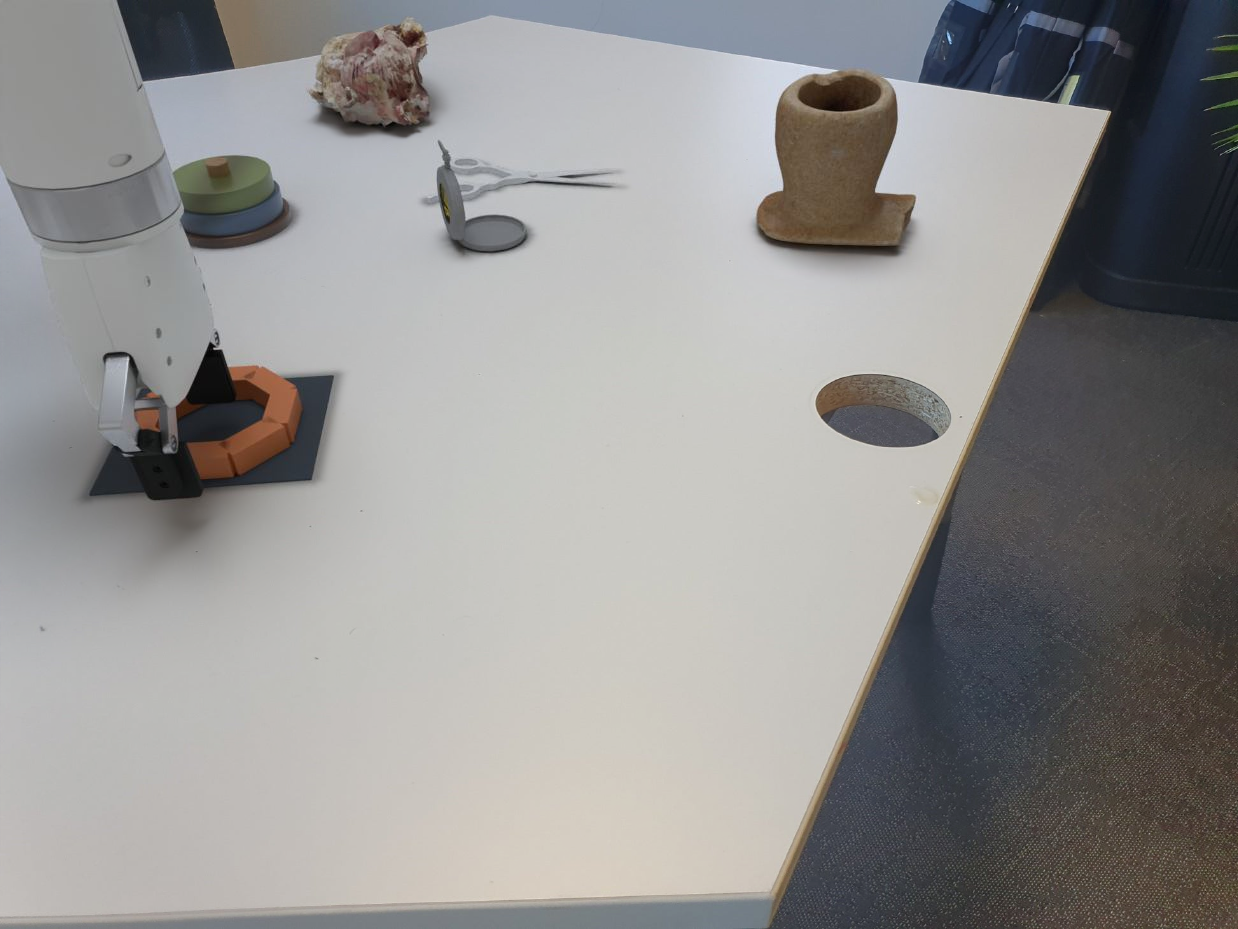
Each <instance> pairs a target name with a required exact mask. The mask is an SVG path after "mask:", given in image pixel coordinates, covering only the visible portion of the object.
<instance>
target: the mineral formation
mask: <svg viewBox="0 0 1238 929" xmlns="http://www.w3.org/2000/svg"><path fill="white" fill-rule="evenodd" d="M427 41H428V38H427V36H426V34H425V32H424V30H423V26H422V25H421V23H419V22H415V21H414V17H405V19H404V20H403V21H402V22H401V23H399V24H397V25H396V26H395V25H393V24H390V23H389V24H386V25H384V26H382V27H379V28H377V29H375V30H372V29H371V30H366V31H357V32H352V33H345V34H339V35H335V36H333V37H330V39H328V42H325V45H324V46H323V48H322V50H321V53H320V58H319V59H318V61H317V62H316V64H315V67H316V68H315V69H316V71H315V80H316V82H315V84H314V89H315V90H316V91H315V90H314V89H313V88H311V87H305V92H306V93H308V94H309V95H310V96H311V98H312V99H313V100H314V101H316V102H317V104H321V105H322V106H323V107H325V108H328V109H332V110H333V111H334V112H338V113H340V115H341V117H342V119H343V121H344V122H345V123H352V122H353V123H354V122H356V121H357V122H359V123H362V124H366V125H368V126H371V125H379V124H381V125H382V126H383V127H384V128H386V126H388V125H389V124H392V123H396V124H399V125H403V126H407V125H409V126H411V125H412V124H414V125H418V124H419V123H420V118H421V117H422V118H428V117H429V116H430V114H431V113H430V111H429V110H428V107H429V106H431V105H430V96H429V94H428V91H427V90H426V89H425V87H424V86H423V85H422V84H423V75H422V73H421V70H420V66H419V63H421V61H422V60H423V59H424V57H425V56H426V55H428V48H427V47H428V46H429V44H428V43H427Z"/></svg>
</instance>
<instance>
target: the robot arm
mask: <svg viewBox="0 0 1238 929" xmlns="http://www.w3.org/2000/svg"><path fill="white" fill-rule="evenodd" d="M155 118H156V117H155V115H154V112H153V109H152V106H151V103H150V99H149V96H148V94H147V91H146V87H145V85H144V81H143V78H142V75H141V72H140V68H139V65H138V63H137V59H136V57H135V53H134V50H133V48H132V44H131V40H130V38H129V35H128V32H127V29H126V26H125V23H124V18H123V16H122V14H121V10H120V7H119V4H118V0H0V169H1V170H2V173H3V175H4V178H5V179H6V182H7V184H8V187H9V189H10V191H11V193H12V195H13V197H14V199H15V201H16V204H17V206H18V208H19V211H20V212H21V215H22V217H23V220H24V222H25V224H26V226H27V228H28V230H29V233H30V236H31V237H32V239H33V240H34V242H35V243H36V244H38V245H39V246H41V248H40V252H39V258H40V261H41V262H40V263H41V265H42V271H43V275H44V280H45V284H46V287H47V290H48V294H49V298H50V301H51V304H52V307H53V311H54V314H55V316H56V319H57V322H58V325H59V328H60V330H61V333H62V336H63V340H64V342H65V344H66V347H67V349H68V352H69V355H70V357H71V360H72V363H73V365H74V368H75V370H76V372H77V375H78V378H79V380H80V382H81V384H82V385H81V386H82V387H83V390H84V392H85V394H86V396H87V398H88V401H89V403H90V404H91V405H92V407H93V409H94V410H96V411H97V412H98V420H97V429H98V431H99V433H100V435H101V436H102V438H103V437H104V438H105V439H106V440H107V441H108V442H109V443H110V444H111V446H112V447H114V449H115V450H116V452H118V453H122V454H123V455H124V456H125V457H130V460H131V462H132V464H133V466H134V469H135V471H136V473H137V475H138V477H139V480H140V482H141V484H142V486H143V488H144V491H145V492H144V493H145V495H146V497H147V498H148V499H149V500H151V501H154V502H155V501H157V502H158V501H169V500H183V499H197V498H201V497H202V496H203V493H204V490H205V488H204V486H203V483H202V481H201V478H200V476H199V473H198V471H197V468H196V466H195V463H194V460H193V458H192V455H191V453H190V450H189V448H188V445H187V443H186V441H178V432H177V418H176V406H177V405H178V404H179V403H180V402H181V401H182V400H183V399H184V398H185V397H186V399H187V401H188V402H189V404H191V405H201V404H217V403H230V402H234V401H235V399H236V396H237V393H236V390H235V387H234V384H233V381H232V378H231V375H230V372H229V369H228V367H229V366H228V362H227V359H226V357H225V354H224V351H223V349H221V348H220V346H221V336H220V332H219V331H218V330H217V329H216V328H215V319H214V313H213V308H212V303H211V302H210V298H209V293H208V291H207V288H206V285H205V282H204V278H203V273H202V270H201V267H199V265H198V262H197V260H196V257H195V254H194V252H193V249H192V246H190V244H189V241H188V239H187V236H186V234H185V232H184V229H183V227H182V224H181V222H180V219H181V217H182V215H183V213H184V206H183V203H182V201H181V198H180V194H179V191H178V188H177V185H176V182H175V179H174V176H173V169H172V167H171V164H170V161H169V160H170V159H169V158H168V155H167V152H166V148H165V147H164V146H165V145H164V143H163V140H162V137H161V133H160V130H159V128H158V124H157V121H156V119H155ZM217 348H220V349H217ZM142 388H149V389H150V390H151V391H152V392H153V393H154V394H155V395H160V398H144V399H136V398H137V390H141V389H142ZM146 410H158V413H159V426H160V432H158V431H154V430H150V429H141V428H140V427H139V423H138V422H137V416H136V411H146Z"/></svg>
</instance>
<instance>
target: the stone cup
mask: <svg viewBox="0 0 1238 929" xmlns="http://www.w3.org/2000/svg"><path fill="white" fill-rule="evenodd" d="M897 100H898V99H897V94H896V91H895V89H894V87H893V85H892V84H891V82H889V81H888V79H886V78H884V77H883V76H881V75H879V74H877V73H874V72H872V71H868V70H862V69H857V68H847V69H846V68H845V69H838V70H836V71H832V72H830V73H811V74H806V75H804V76H802V77H800V78H798V79H796V80H795V81H794V82H792V83H790V84H789V85H788V86H787V87H786V88H785V89H784V91H782V93H781V95H780V97H779V98H778V102H777V105H776V111H775V123H774V124H775V125H774V126H775V127H774V145H775V146H774V147H775V153H776V157H777V161H778V166H779V170H780V174H781V180H782V190H778V191H777V190H776V191H774V192H772V193H769V194H768V195H766V196H765V197H764V198H763V199H762V201H761V202H760V204H759V205H758V207H757V210H756V217H755V219H756V224H757V226H758V227H759V229H761V230H762V231H763V232H764V235H765V236H766V237H769V238H771V239H774V240H777V241H781V242H788V243H789V242H790V243H799V244H809V245H834V246H875V247H876V246H878V247H891V246H892V247H893V246H898V245H899V246H900V244H901V242H902V238H903V235H904V232H905V231H906V229H907V228H908V226H909V224H910V221H911V218H912V214H913V211H914V209H915V204H916V201H917V196H916V195H915V194H908V193H907V194H906V193H905V194H904V193H903V194H902V193H901V194H899V193H889V192H887V193H886V192H876V189H877V185H878V182H879V179H880V176H881V175H882V174H881V173H882V172H883V168H884V166H885V163H886V161H887V158H888V156H889V153H890V151H891V148H892V146H893V142H894V140H895V137H896V134H897V129H898V122H899V115H898V114H899V112H898V111H899V110H898V109H899V108H898V101H897Z"/></svg>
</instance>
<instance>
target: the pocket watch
mask: <svg viewBox="0 0 1238 929" xmlns="http://www.w3.org/2000/svg"><path fill="white" fill-rule="evenodd" d="M437 145H438V146H439V149H440V151H441V153H442V155H441V158H442V161H443V163H444V164H443V165H441V166H438V167H437V169H436V191H437V194H438V197H439V201H438V202H439V208H440V211H441V215H442V219H443V223H444V225H445V228H446V231H447V233H448V235H449V237H450V238H451V239H452V240H456V241H458V242H459V244H461V245H462V246H463V247H465V248H468V249H470V250H474V251H479V252H496V251H497V252H498V251H502V250H503V251H504V250H507V249H510V248H513V247H516V246H518V245H519V244H520V243H522V241H524V239H525V238H526V235H527V227H526V225H525V223H524V222H523V221H522V220H520V219H519V218H516V217H514V216H510V215H506V214H484V215H483V214H482V215H478V216H474V217H471V218H468V219H466V212H465V211H466V210H465V204H464V201H463V199H462V195H461V193H462V190H461V191H460V187H459V184H458V183H459V181H458V178H457V176H456V174H455V172H454V171H453V170H452V169H451V168H450V167H451V166H450V161H451V160H452V157H451V155H450V154H449V153H450V151H449V150H448V149H446V148H445V146H444V144H443V143H442V141H441V140H440V139H438V140H437Z"/></svg>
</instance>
